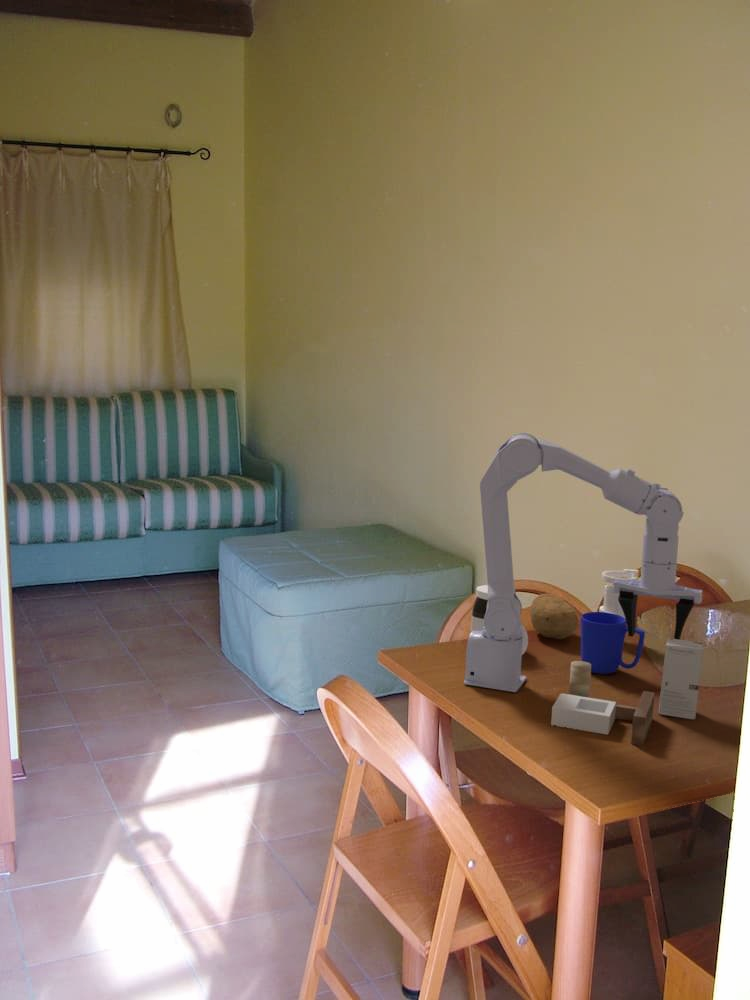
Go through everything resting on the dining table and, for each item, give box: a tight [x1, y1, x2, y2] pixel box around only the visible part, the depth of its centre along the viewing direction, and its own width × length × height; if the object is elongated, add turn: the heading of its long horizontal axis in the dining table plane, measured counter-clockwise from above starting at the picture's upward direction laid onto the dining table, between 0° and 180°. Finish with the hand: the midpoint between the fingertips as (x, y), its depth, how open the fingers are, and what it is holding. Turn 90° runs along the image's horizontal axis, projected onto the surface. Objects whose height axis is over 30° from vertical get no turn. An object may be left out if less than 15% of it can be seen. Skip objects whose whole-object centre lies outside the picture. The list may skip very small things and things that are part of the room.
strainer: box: [598, 568, 639, 619], centre depth 211 cm, size 7×7×15 cm
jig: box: [615, 690, 656, 747], centre depth 167 cm, size 15×12×4 cm
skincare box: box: [658, 637, 705, 720], centre depth 173 cm, size 6×4×12 cm
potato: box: [529, 593, 579, 640], centre depth 213 cm, size 10×14×8 cm
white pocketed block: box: [550, 692, 617, 735], centre depth 168 cm, size 9×7×3 cm
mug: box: [580, 611, 646, 675], centre depth 192 cm, size 8×12×10 cm
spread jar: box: [470, 584, 529, 656], centre depth 204 cm, size 12×11×12 cm
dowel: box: [568, 660, 592, 698], centre depth 177 cm, size 3×3×6 cm
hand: (654, 638), depth 180 cm, fingers open, 7 cm apart
